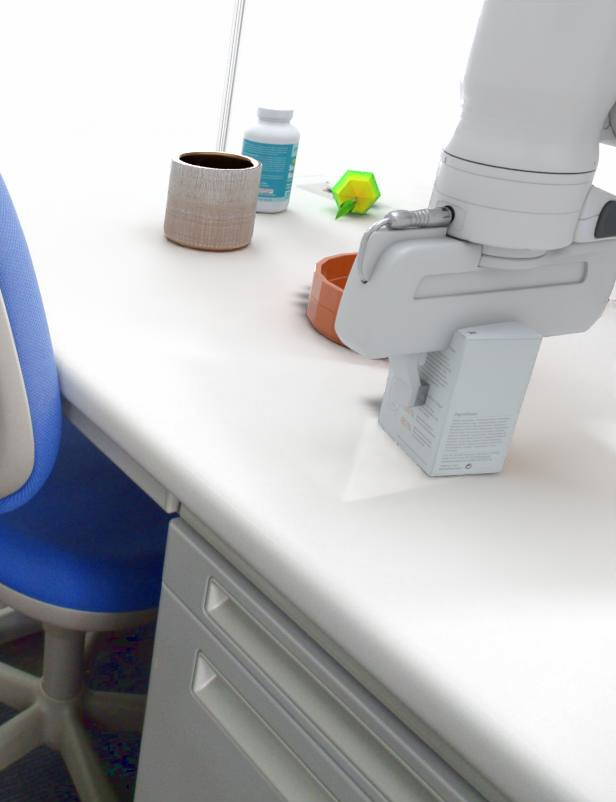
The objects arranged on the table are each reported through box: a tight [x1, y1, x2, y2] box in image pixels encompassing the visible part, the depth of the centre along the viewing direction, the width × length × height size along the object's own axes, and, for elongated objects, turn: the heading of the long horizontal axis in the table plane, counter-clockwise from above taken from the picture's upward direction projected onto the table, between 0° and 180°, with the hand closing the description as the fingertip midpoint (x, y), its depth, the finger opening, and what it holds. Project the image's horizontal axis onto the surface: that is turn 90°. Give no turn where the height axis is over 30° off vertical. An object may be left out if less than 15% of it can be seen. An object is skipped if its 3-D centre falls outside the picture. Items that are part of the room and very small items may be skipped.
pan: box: [306, 251, 389, 359], centre depth 83 cm, size 16×16×5 cm
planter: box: [163, 150, 262, 252], centre depth 105 cm, size 11×11×10 cm
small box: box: [377, 321, 544, 478], centre depth 61 cm, size 8×6×10 cm
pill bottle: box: [240, 104, 301, 214], centre depth 119 cm, size 8×7×14 cm
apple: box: [330, 169, 382, 221], centre depth 120 cm, size 7×6×9 cm
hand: (449, 397), depth 62 cm, fingers closed on small box, 6 cm apart
